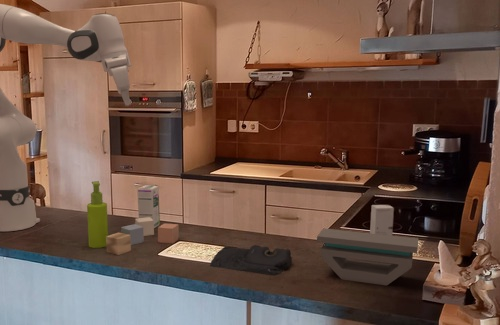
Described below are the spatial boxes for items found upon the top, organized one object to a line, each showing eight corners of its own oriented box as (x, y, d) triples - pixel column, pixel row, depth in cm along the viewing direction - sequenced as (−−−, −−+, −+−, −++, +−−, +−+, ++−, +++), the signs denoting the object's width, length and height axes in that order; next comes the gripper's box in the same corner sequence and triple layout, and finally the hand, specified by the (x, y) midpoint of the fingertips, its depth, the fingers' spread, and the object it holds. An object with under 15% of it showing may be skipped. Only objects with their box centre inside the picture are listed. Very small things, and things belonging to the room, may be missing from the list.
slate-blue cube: (121, 242, 160) (121, 227, 159) (134, 238, 163) (134, 224, 162) (130, 245, 156) (129, 230, 156) (143, 242, 160) (143, 227, 159)
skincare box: (374, 245, 158) (375, 208, 156) (369, 241, 162) (370, 204, 160) (392, 244, 158) (394, 207, 157) (387, 240, 163) (388, 204, 161)
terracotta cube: (158, 242, 160) (157, 227, 159) (164, 238, 164) (164, 223, 164) (172, 243, 158) (172, 228, 158) (178, 239, 163) (178, 224, 162)
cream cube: (135, 232, 170) (135, 218, 169) (150, 231, 172) (149, 217, 171) (139, 236, 166) (138, 222, 165) (153, 234, 168) (153, 220, 167)
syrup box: (154, 229, 174) (153, 188, 172) (138, 228, 175) (137, 187, 173) (160, 224, 179) (159, 185, 177) (144, 223, 181) (143, 184, 178)
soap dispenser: (106, 240, 161) (104, 179, 158) (109, 246, 155) (107, 183, 152) (87, 242, 159) (85, 180, 156) (89, 248, 153) (86, 184, 150)
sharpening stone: (316, 275, 132) (317, 236, 131) (322, 265, 139) (323, 228, 138) (414, 289, 124) (417, 247, 122) (416, 278, 131) (418, 238, 129)
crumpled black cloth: (226, 251, 153) (226, 236, 152) (296, 260, 145) (296, 244, 145) (205, 268, 139) (205, 251, 138) (281, 278, 131) (281, 261, 130)
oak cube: (106, 252, 150) (106, 236, 149) (119, 247, 154) (118, 232, 153) (118, 255, 147) (118, 239, 146) (130, 250, 151) (130, 234, 151)
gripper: (107, 69, 170) (118, 108, 172) (105, 61, 151) (118, 106, 152) (126, 65, 172) (136, 104, 174) (126, 57, 152) (138, 101, 154)
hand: (128, 105), depth 163 cm, fingers open, 8 cm apart
